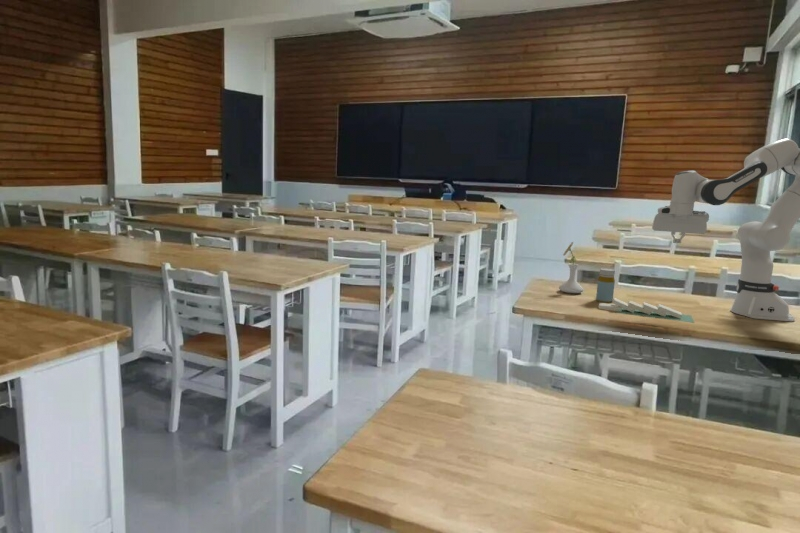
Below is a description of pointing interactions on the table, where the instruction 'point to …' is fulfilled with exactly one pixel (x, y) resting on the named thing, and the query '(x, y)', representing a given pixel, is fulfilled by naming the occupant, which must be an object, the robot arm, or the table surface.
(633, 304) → the domino
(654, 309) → the domino
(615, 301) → the domino
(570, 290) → the flower in vase
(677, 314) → the domino
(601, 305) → the domino end
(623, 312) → the felt runner
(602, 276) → the bottle
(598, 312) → the table surface
